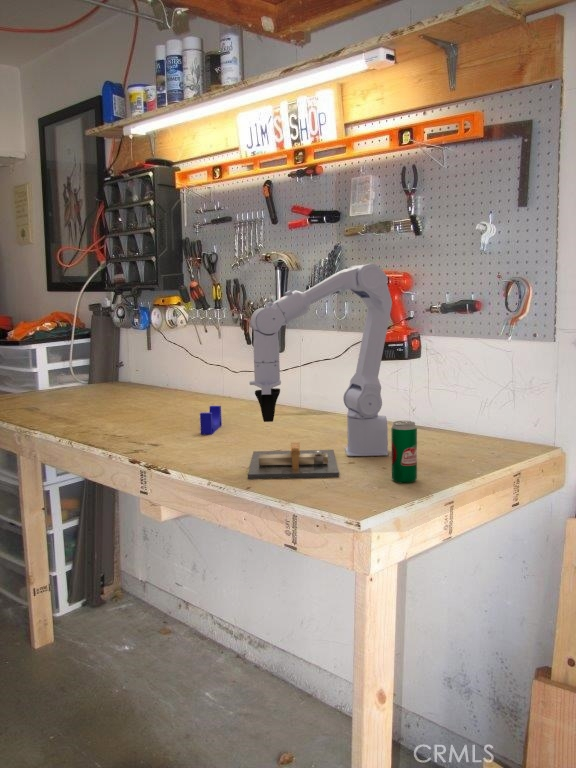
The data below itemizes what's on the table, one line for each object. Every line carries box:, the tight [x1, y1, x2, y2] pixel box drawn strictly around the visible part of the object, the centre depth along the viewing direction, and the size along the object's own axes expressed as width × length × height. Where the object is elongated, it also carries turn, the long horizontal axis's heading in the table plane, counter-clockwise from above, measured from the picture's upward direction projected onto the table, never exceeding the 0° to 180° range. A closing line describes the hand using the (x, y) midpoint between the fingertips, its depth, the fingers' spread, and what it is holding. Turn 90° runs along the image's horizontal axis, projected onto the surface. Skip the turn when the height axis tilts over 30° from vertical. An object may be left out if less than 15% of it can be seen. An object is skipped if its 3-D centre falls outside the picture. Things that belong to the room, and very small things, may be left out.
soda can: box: [391, 420, 418, 484], centre depth 138 cm, size 5×5×12 cm
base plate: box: [247, 442, 340, 480], centre depth 152 cm, size 19×20×6 cm
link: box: [259, 453, 328, 465], centre depth 150 cm, size 15×4×2 cm, turn 89°
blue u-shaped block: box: [199, 405, 222, 436], centre depth 193 cm, size 12×4×6 cm, turn 172°
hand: (268, 421), depth 155 cm, fingers closed
